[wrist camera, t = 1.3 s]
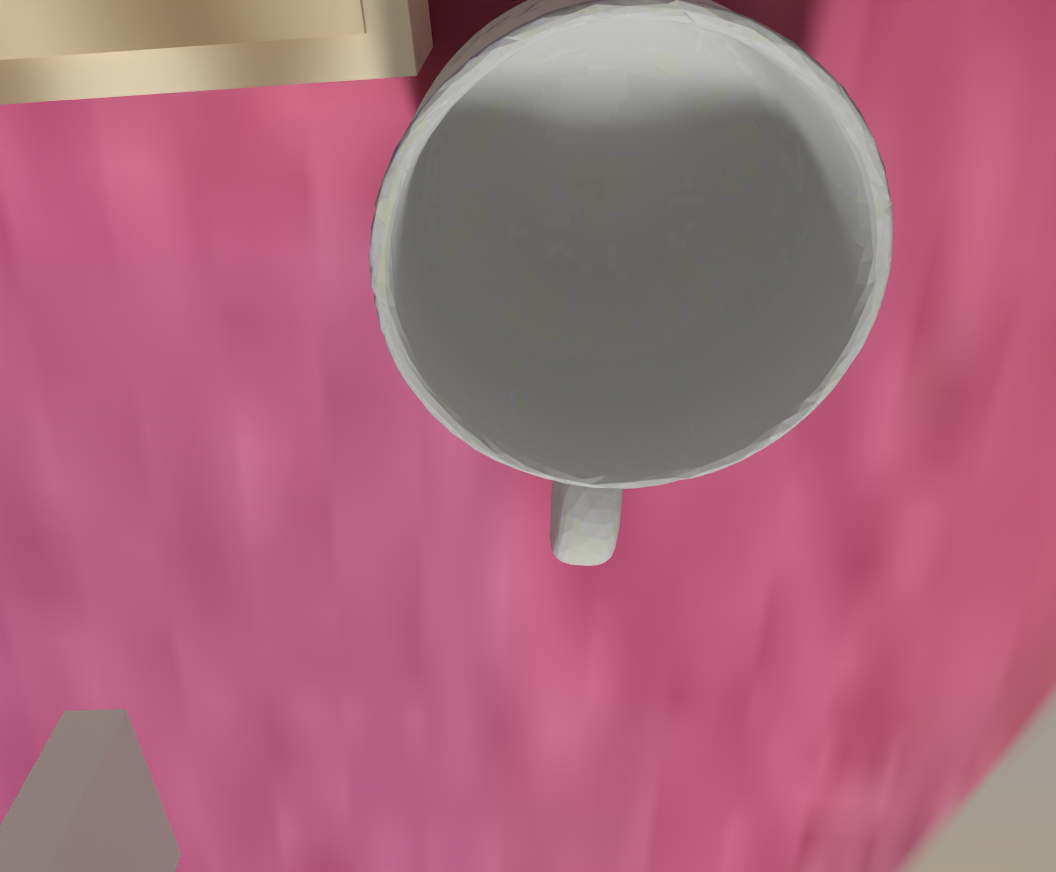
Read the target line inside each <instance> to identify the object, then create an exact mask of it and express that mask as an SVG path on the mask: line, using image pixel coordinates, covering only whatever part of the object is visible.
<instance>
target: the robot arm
mask: <svg viewBox="0 0 1056 872" xmlns="http://www.w3.org/2000/svg"><path fill="white" fill-rule="evenodd" d="M180 856H181V852H180V850H179V847H178V844H177V842H176V839H175V837H174V834H173V831H172V829H171V826H170V823H169V821H168V818H167V816H166V813H165V810H164V808H163V805H162V802H161V800H160V797H159V795H158V792H157V789H156V787H155V784H154V781H153V779H152V776H151V774H150V771H149V768H148V766H147V763H146V760H145V758H144V755H143V753H142V750H141V747H140V745H139V742H138V740H137V737H136V734H135V732H134V729H133V726H132V724H131V721H130V719H129V716H128V713H127V711H126V709H118V710H75V711H64V713H63V714H62V716H61V718H60V720H59V722H58V723H57V725H56V727H55V729H54V730H53V732H52V734H51V736H50V738H49V739H48V741H47V743H46V745H45V746H44V748H43V750H42V752H41V754H40V755H39V757H38V759H37V761H36V763H35V764H34V766H33V768H32V770H31V771H30V773H29V775H28V777H27V779H26V780H25V782H24V784H23V786H22V787H21V789H20V791H19V793H18V795H17V796H16V798H15V800H14V802H13V803H12V805H11V807H10V809H9V811H8V812H7V814H6V816H5V818H4V820H3V821H2V823H1V825H0V872H175V870H176V867H177V864H178V861H179V859H180Z"/></svg>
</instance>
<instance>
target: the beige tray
mask: <svg viewBox="0 0 1056 872" xmlns="http://www.w3.org/2000/svg"><path fill="white" fill-rule="evenodd" d="M432 48H433V40H432V31H431V23H430V14H429V5H428V0H0V104H14V103H29V102H43V101H58V100H73V99H87V98H102V97H116V96H131V95H145V94H160V93H174V92H189V91H203V90H218V89H233V88H247V87H262V86H276V85H291V84H305V83H320V82H334V81H349V80H363V79H378V78H393V77H407V76H417V74H418V73H419V71H420V69H421V67H422V66H423V64H424V62H425V60H426V59H427V57H428V55H429V53H430V52H431V50H432Z"/></svg>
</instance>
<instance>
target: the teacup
mask: <svg viewBox="0 0 1056 872" xmlns="http://www.w3.org/2000/svg"><path fill="white" fill-rule="evenodd" d="M892 235H893V218H892V203H891V198H890V194H889V188H888V183H887V177H886V172H885V167H884V164H883V161H882V159H881V156H880V153H879V151H878V148H877V146H876V143H875V141H874V139H873V137H872V134H871V132H870V130H869V128H868V126H867V124H866V122H865V120H864V118H863V116H862V114H861V112H860V111H859V109H858V108H857V106H856V105H855V103H854V102H853V101H852V99H851V98H850V96H849V95H848V93H847V92H846V90H845V89H844V87H843V86H842V85H841V84H840V83H839V82H838V81H837V80H836V79H835V78H834V77H833V76H832V75H831V74H830V73H829V72H828V71H827V70H826V69H825V68H824V67H823V66H822V65H821V64H820V63H819V62H817V61H816V60H815V59H814V58H813V57H811V56H810V55H809V54H808V53H806V52H805V51H804V50H803V49H802V48H800V47H799V46H798V45H797V44H795V43H794V42H793V41H792V40H790V39H788V38H786V37H784V36H782V35H780V34H779V33H777V32H775V31H774V30H772V29H770V28H769V27H767V26H765V25H763V24H761V23H760V22H758V21H756V20H754V19H752V18H750V17H747V16H744V15H742V14H739V13H736V12H734V11H731V10H730V9H728V8H726V7H724V6H722V5H720V4H718V3H716V2H714V1H712V0H526V1H525V2H523V3H521V4H519V5H517V6H515V7H514V8H512V9H510V10H508V11H507V12H505V13H503V14H502V15H500V16H499V17H497V18H495V19H494V20H492V21H491V22H489V23H488V24H487V25H486V26H485V27H483V28H482V29H481V30H480V31H478V32H477V33H476V34H475V35H473V36H472V37H471V38H470V39H469V40H468V41H467V42H466V43H465V44H464V45H463V46H462V47H461V48H460V49H459V50H458V51H457V52H456V54H455V55H454V56H453V57H452V58H451V59H450V61H449V62H448V63H447V64H446V65H445V67H444V68H443V70H442V71H441V72H440V74H439V75H438V76H437V78H436V79H435V81H434V82H433V84H432V85H431V87H430V88H429V90H428V91H427V93H426V95H425V96H424V98H423V100H422V102H421V104H420V105H419V107H418V109H417V111H416V113H415V115H414V118H413V120H412V122H411V123H410V125H409V127H408V128H407V130H406V132H405V133H404V135H403V136H402V138H401V140H400V142H399V143H398V145H397V147H396V148H395V150H394V153H393V155H392V157H391V160H390V162H389V165H388V167H387V170H386V173H385V175H384V178H383V181H382V184H381V187H380V190H379V193H378V196H377V199H376V202H375V213H374V218H373V222H372V226H371V243H370V253H369V263H370V272H371V287H372V289H373V291H374V298H375V306H376V311H377V315H378V320H379V324H380V328H381V330H382V332H383V334H384V337H385V341H386V344H387V347H388V349H389V351H390V354H391V356H392V358H393V360H394V361H395V363H396V365H397V367H398V369H399V371H400V373H401V375H402V377H403V378H404V380H405V381H406V383H407V384H408V385H409V386H410V388H411V389H412V390H413V391H414V393H415V394H416V395H417V396H418V398H419V399H420V400H421V401H422V403H423V404H424V405H425V407H426V408H427V409H428V411H429V412H430V413H431V414H432V415H433V416H434V417H435V418H436V419H437V420H438V421H439V422H440V423H441V424H442V425H444V426H445V427H446V428H447V429H448V430H449V431H450V432H451V433H452V434H454V435H455V436H457V437H458V438H460V439H462V440H463V441H464V442H466V443H467V444H468V445H469V446H471V447H472V448H473V449H475V450H477V451H479V452H480V453H482V454H484V455H486V456H488V457H490V458H492V459H494V460H496V461H498V462H501V463H503V464H505V465H508V466H510V467H513V468H515V469H518V470H521V471H524V472H527V473H530V474H533V475H535V476H538V477H542V478H546V479H550V480H553V481H552V494H551V521H550V541H551V549H552V552H553V553H554V555H555V556H556V557H557V558H558V559H559V560H561V561H562V562H565V563H568V564H572V565H587V566H592V565H599V564H601V563H604V562H606V561H607V560H608V559H609V558H610V557H611V556H612V554H613V551H614V549H615V546H616V541H617V536H618V531H619V525H620V514H621V504H622V492H623V488H639V487H646V486H656V485H661V484H667V483H670V482H674V481H678V480H682V479H690V478H695V477H698V476H702V475H705V474H709V473H712V472H715V471H718V470H721V469H723V468H726V467H728V466H730V465H732V464H735V463H737V462H739V461H742V460H744V459H746V458H747V457H749V456H751V455H753V454H754V453H756V452H758V451H759V450H761V449H763V448H765V447H766V446H768V445H770V444H772V443H773V442H775V441H776V440H777V439H779V438H780V437H782V436H783V435H784V434H786V433H787V432H789V431H790V430H791V429H792V428H793V427H795V426H796V425H797V424H798V423H799V422H801V421H802V420H803V419H804V418H805V417H806V416H807V415H809V414H810V413H811V412H812V411H813V410H814V409H815V408H816V407H817V406H818V405H819V404H820V403H821V402H822V401H823V400H824V398H825V397H826V396H827V395H828V394H829V393H830V392H831V391H832V390H833V388H834V387H835V386H836V384H837V383H838V382H839V380H840V379H841V377H842V376H843V375H844V373H845V372H846V370H847V369H848V367H849V366H850V364H851V363H852V361H853V360H854V359H855V357H856V356H857V354H858V353H859V351H860V350H861V348H862V347H863V345H864V343H865V341H866V339H867V336H868V334H869V332H870V330H871V328H872V325H873V323H874V321H875V319H876V317H877V314H878V311H879V308H880V305H881V303H882V300H883V297H884V293H885V289H886V285H887V281H888V276H889V272H890V264H891V254H892Z"/></svg>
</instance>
